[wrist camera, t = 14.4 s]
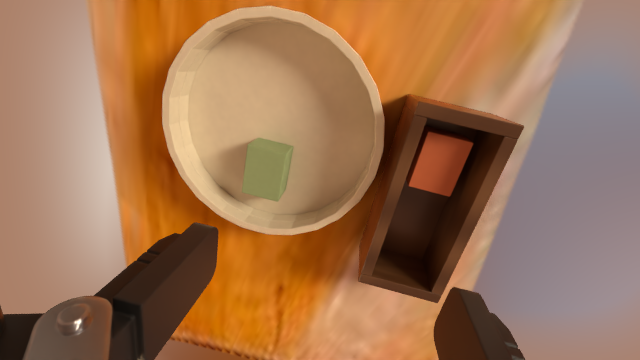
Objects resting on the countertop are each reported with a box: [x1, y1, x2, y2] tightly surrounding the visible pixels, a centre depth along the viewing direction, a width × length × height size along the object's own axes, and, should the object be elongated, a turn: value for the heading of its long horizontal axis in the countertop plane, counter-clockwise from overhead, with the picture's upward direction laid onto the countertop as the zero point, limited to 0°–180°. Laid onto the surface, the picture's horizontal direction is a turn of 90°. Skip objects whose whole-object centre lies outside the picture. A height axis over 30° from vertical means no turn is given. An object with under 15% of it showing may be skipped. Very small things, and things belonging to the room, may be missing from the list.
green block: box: [242, 138, 294, 202], centre depth 23 cm, size 4×3×2 cm
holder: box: [358, 94, 524, 303], centre depth 22 cm, size 14×6×5 cm, turn 168°
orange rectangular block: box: [406, 126, 473, 197], centre depth 21 cm, size 4×3×2 cm
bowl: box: [162, 6, 385, 235], centre depth 22 cm, size 16×16×3 cm
